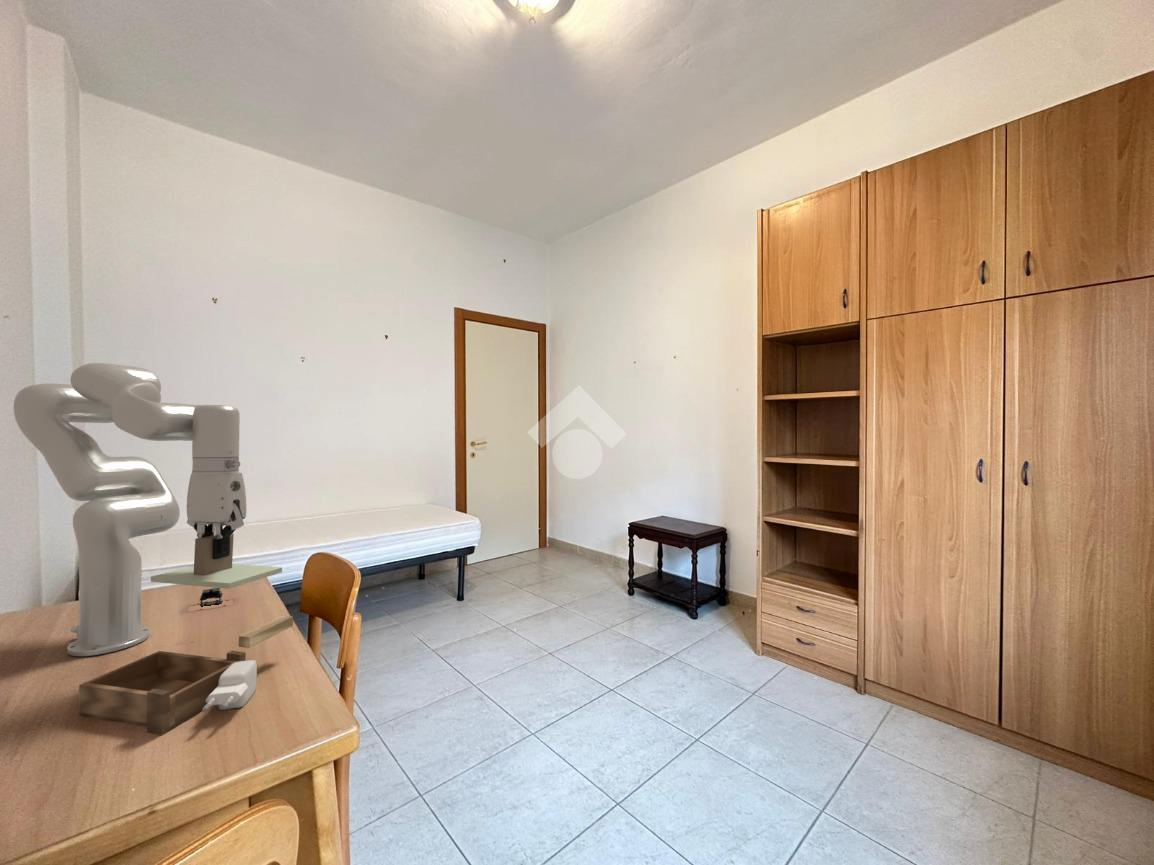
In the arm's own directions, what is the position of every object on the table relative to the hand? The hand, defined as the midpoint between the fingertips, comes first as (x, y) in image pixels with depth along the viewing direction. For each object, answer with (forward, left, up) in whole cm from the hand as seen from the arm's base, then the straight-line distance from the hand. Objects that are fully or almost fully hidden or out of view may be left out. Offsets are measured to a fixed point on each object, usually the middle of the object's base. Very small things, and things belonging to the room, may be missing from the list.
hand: (214, 556), depth 94 cm
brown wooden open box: (+6, -14, -21) cm, 26 cm away
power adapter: (+19, -14, -21) cm, 31 cm away
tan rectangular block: (+14, -1, -14) cm, 20 cm away
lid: (+2, 0, -4) cm, 4 cm away
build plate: (-28, +24, -22) cm, 43 cm away
